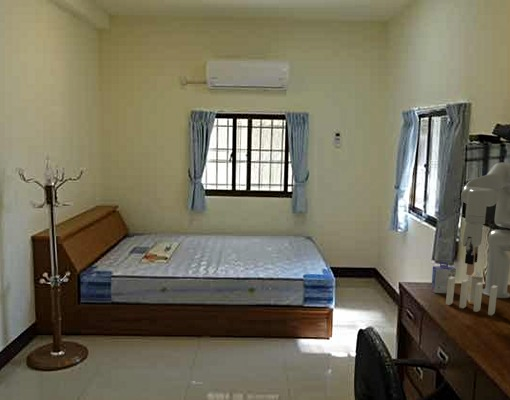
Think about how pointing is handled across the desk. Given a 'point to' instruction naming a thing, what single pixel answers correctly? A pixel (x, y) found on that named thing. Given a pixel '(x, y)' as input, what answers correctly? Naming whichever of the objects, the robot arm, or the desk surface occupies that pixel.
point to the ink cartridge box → (441, 277)
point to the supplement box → (473, 286)
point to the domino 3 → (471, 267)
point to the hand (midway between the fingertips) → (470, 262)
